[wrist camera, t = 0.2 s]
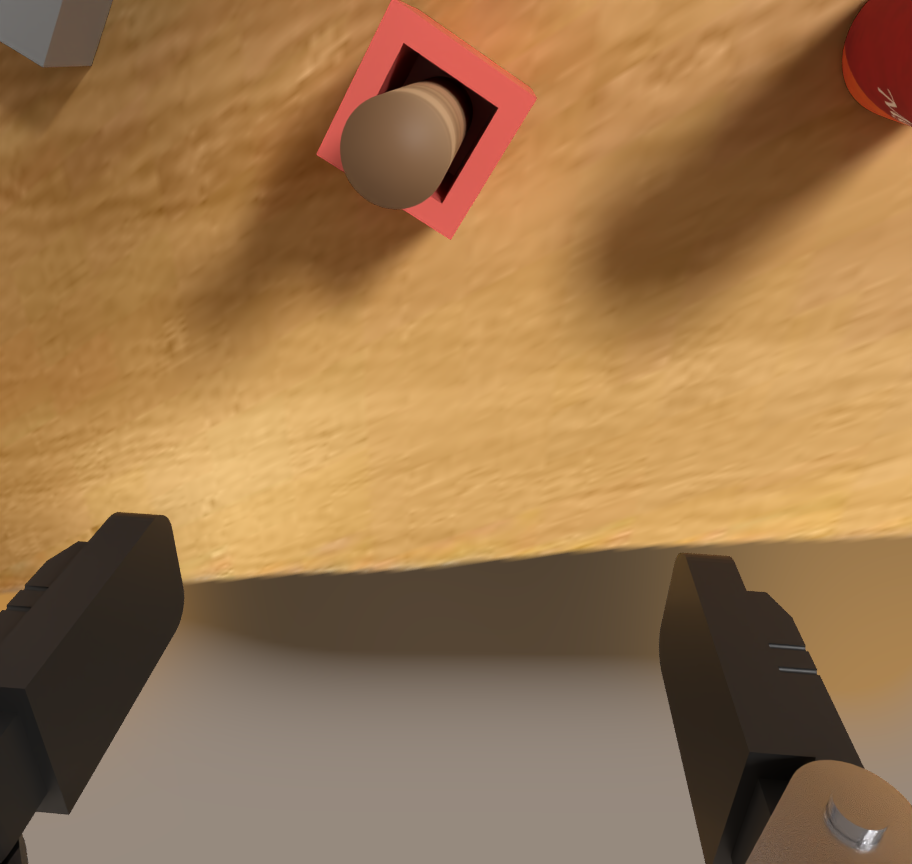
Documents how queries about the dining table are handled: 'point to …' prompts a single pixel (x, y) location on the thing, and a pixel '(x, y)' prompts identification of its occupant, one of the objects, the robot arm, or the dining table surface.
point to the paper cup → (881, 59)
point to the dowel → (405, 141)
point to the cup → (429, 55)
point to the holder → (54, 29)
